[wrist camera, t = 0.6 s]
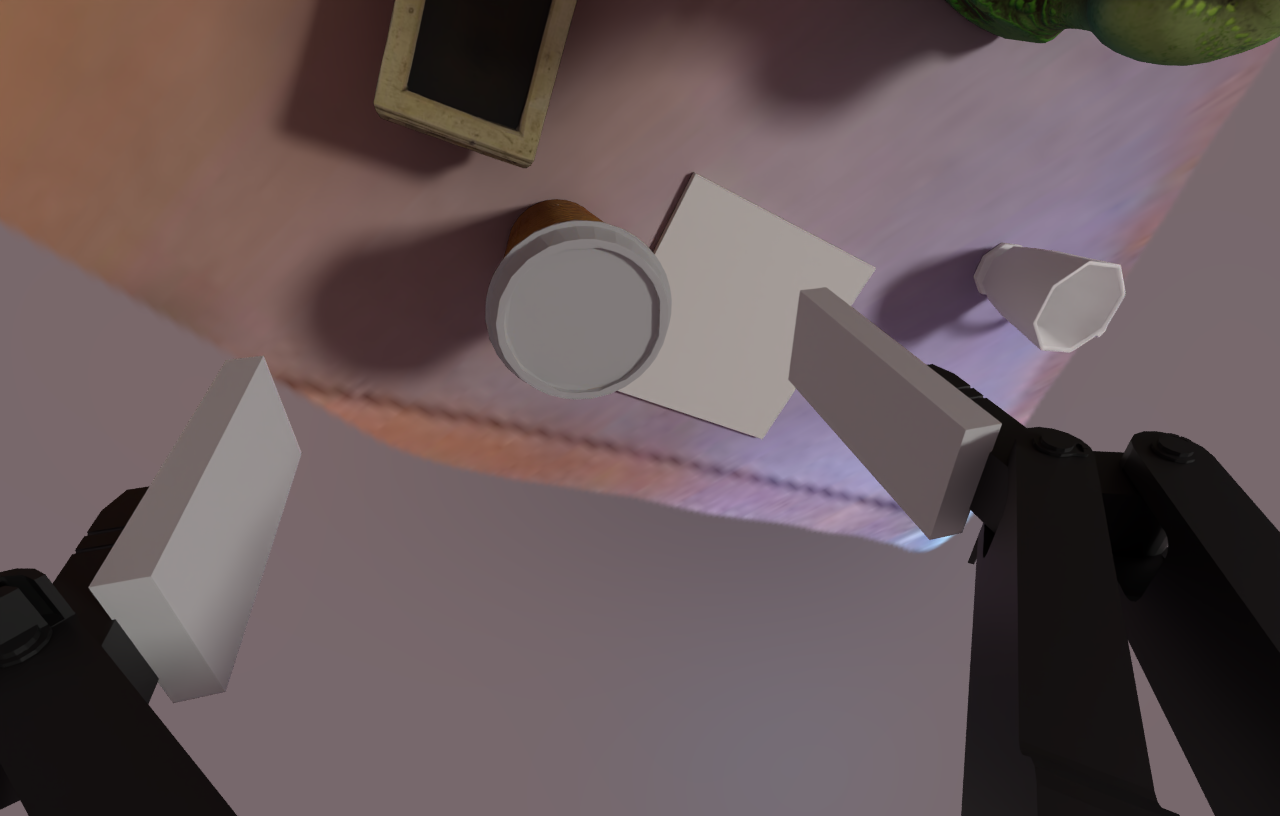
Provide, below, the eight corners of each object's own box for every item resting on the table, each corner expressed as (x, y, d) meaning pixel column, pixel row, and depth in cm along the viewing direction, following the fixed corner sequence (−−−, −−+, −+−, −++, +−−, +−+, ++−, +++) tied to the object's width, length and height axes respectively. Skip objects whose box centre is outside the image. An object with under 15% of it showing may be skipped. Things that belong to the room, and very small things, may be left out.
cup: (1006, 207, 47) (1095, 239, 40) (1074, 269, 51) (1165, 307, 45) (940, 286, 49) (1014, 329, 43) (1011, 339, 54) (1088, 385, 47)
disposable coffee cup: (453, 210, 38) (447, 280, 28) (596, 146, 38) (641, 194, 28) (522, 338, 44) (538, 434, 34) (648, 282, 44) (700, 362, 34)
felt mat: (589, 378, 47) (590, 381, 46) (693, 172, 40) (695, 173, 40) (760, 435, 53) (762, 439, 53) (872, 266, 47) (876, 268, 47)
